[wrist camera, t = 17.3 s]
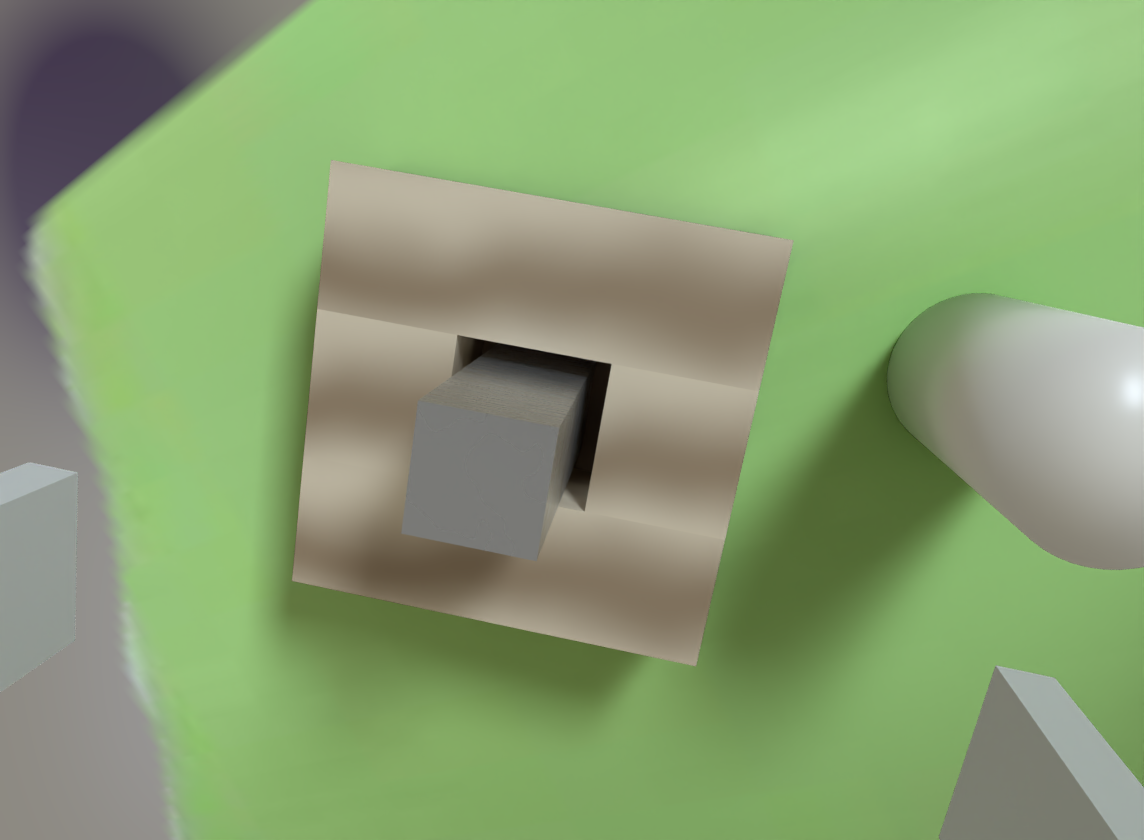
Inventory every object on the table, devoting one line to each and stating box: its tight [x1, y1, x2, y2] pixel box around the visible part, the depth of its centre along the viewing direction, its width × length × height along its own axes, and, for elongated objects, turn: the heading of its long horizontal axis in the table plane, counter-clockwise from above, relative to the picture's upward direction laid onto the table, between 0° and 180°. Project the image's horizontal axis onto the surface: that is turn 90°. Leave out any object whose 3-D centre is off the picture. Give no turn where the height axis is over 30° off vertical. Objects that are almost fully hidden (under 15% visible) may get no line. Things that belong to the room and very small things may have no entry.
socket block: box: [292, 160, 794, 666], centre depth 33 cm, size 16×16×6 cm
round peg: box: [887, 293, 1144, 570], centre depth 28 cm, size 7×7×12 cm
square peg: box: [401, 343, 596, 561], centre depth 29 cm, size 4×4×12 cm
